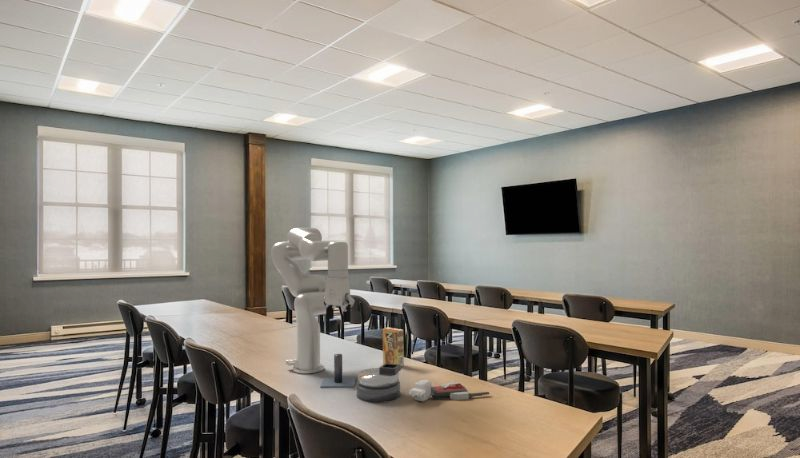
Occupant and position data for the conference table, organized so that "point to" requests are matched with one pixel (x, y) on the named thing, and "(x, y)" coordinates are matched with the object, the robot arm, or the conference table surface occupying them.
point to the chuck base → (378, 394)
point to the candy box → (393, 346)
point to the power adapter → (421, 390)
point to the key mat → (331, 384)
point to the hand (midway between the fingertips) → (338, 320)
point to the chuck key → (338, 368)
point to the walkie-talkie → (452, 392)
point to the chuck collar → (380, 377)
